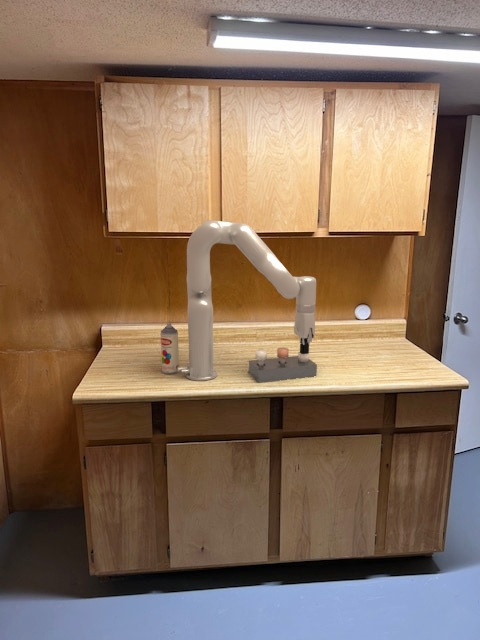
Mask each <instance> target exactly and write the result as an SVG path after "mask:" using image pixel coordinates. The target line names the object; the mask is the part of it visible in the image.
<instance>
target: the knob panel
mask: <svg viewBox="0 0 480 640" xmlns="http://www.w3.org/2000/svg"><path fill="white" fill-rule="evenodd" d="M258 364H259V360H256V359H251V360H250V359H249V360H248V374H249V375H251V376H252V377H253V379H254V380H255V381H256V382H257V383H258V384H260V383H261V384H262V383H269V382H271V383H272V382H279V381H280V380H281V381H288V380H287V379H290V380H297V379H296V378H299V379H306V378H305V377H308V378H314V376H316V377H317V374H318V373H317V371H318V370H317V368H318V364H317V363H316V362H314V361H313V360H312V359H310V358H309V361H308V362H299V361H298V355H295V356H294V355H293V356H288V358H285V364H280V358H278V357H274V358H273V357H272V358H267V359H266V360H264V366H258Z"/></svg>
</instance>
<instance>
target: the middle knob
mask: <svg viewBox="0 0 480 640" xmlns="http://www.w3.org/2000/svg"><path fill="white" fill-rule="evenodd" d="M276 355H277V357H276V358H280V364H285V358H288V357H289V348H287V347H278V348H276Z"/></svg>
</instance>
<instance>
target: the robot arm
mask: <svg viewBox="0 0 480 640" xmlns="http://www.w3.org/2000/svg"><path fill="white" fill-rule="evenodd" d="M215 244H225V245H235V246H236V247H237V248H238V250H239V251H240V252H241V253H242V254H243V255H244V256H245V257H246V258H247V259H248V260H249V262H250V263H251V264H252V265H253V267H254V268H255V269H256V270H257V271H258V272H259V273H260V274H262V275H263V276H264V277H265V278H266V279H267V280H268V282H270V283H271V284H272V285H273V287H274V288H275V289H276V291H277V292H278V294H280V295H281V296H282V297H283V298H284V299H287V300H292V299H296V300H295V305H296V306H295V316H294V325H293V328H294V329H293V332H294V335H296V336H298V337H299V352H300V353H301V354H308V353H309V354H310V344H311V343H313V339H314V338H315V336H316V321H315V320H316V318H315V317H316V316H315V313H316V304H317V303H316V301H317V279H316V277H314V276H310V275H309V276H308V275H304V276H293V275H292V274H291V273H290V272H289V271H288V269H287V268H286V266H284V265H283V263H281V261H280V260H279V259H278V257H277V256H276V255H275V254H274V252H273V251H272V250H271V249H270V248H269V247H268V245H267V244H266V243H265V241H263V240H262V239H261V237H260V236H259V235H258V234H257V232H255V230H254V229H253V228H252V227H251V226H249V225H248V224H247V223H244V222H243V223H242V222H232V221H231V222H230V221H229V222H228V221H222V220H221V221H220V220H213V219H212V220H211V219H210V220H206V221H205V222H203V223H201V225H199V226H198V227H197V228H195V230H194V231H193V232H192V233H191V234H190V237H189V239H188V242H187V246H186V270H187V271H186V272H187V273H186V288H187V289H186V290H187V331H188V332H187V334H188V335H187V337H188V363H187V365H184V366H179V367H177V372H178V373H181V374H185V378H186V379H189V380H191V381H199V382H200V381H201V382H202V381H210V380H213V379H215V378H216V377H217V376H218V370H216V369H215V368H214V305H213V301H212V300H213V299H212V275H211V261H210V259H211V254H210V253H211V249H212V248H213V246H214V245H215Z"/></svg>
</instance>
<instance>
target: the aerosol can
mask: <svg viewBox="0 0 480 640" xmlns="http://www.w3.org/2000/svg"><path fill="white" fill-rule="evenodd" d="M160 350H161V351H160V353H161V355H160V357H161V373H162V374H164V375H175V374H178V373H179V372H177V367H180V358H179V355H180V354H179V350H180V349H179V332H178V330H177V329H176V328H175V327H174V326H172V323H171V322H166V326H165V327H163V329H161V331H160Z"/></svg>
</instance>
